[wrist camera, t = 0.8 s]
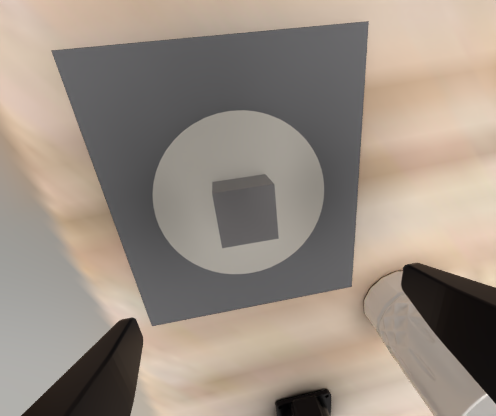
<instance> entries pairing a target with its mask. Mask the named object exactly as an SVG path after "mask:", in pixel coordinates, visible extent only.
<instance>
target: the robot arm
mask: <svg viewBox="0 0 496 416" xmlns="http://www.w3.org/2000/svg"><path fill="white" fill-rule="evenodd" d="M401 287H402V290H403V292H404V293H405V294H406V296H407V297H408V299H409V300H410V301H411V303H412V304H413V305H414V307H415V308H416V309H417V311H418V312H419V313H420V315H421V316H422V318H423V319H424V320H425V322H426V323H427V324H428V326H429V327H430V328H431V330H432V331H433V332H434V333H435V335H436V336H437V337H438V338H439V339H440V341H441V342H442V343H443V344H444V345H445V346H446V348H447V349H448V350H449V351H450V352H451V353H452V354H453V356H454V357H455V358H456V359H457V360H458V361H459V362H460V364H461V365H462V366H463V367H464V368H465V369H466V371H467V372H468V373H469V374H470V375H471V376H472V377H473V379H474V380H475V381H476V382H477V383H478V384H479V385H480V387H481V388H482V389H483V390H484V391H485V392H486V394H487V395H488V396H489V397H490V398H491V399H492V400H493V402H494V403H495V404H496V288H495V287H491V286H488V285H485V284H482V283H479V282H476V281H473V280H470V279H467V278H464V277H460V276H457V275H454V274H451V273H448V272H445V271H442V270H439V269H436V268H432V267H429V266H426V265H423V264H420V263H412V264H407V265H405V266H404V268H403V273H402V280H401ZM142 347H143V336H142V333H141V331H140V328H139V326H138V323H137V321H136V319H135V318H127V319H122V320H120V321H119V322H117V323H116V324H115V325H114V326H113V327H112V328H111V329H110V330H109V331H108V332H107V333H106V334H105V335H104V336H103V337H102V338H101V339H100V340H99V341H98V342H97V343H96V344H95V345H94V346H93V347H92V348H91V349H90V350H88V352H86V353H85V354H84V356H82V357H81V358H80V359H79V360H78V361H77V362H76V363H75V364H74V365H73V366H72V367H71V368H70V369H69V370H68V371H67V372H66V373H65V374H64V375H63V376H62V377H61V378H60V379H59V380H58V381H56V382H55V383H54V385H52V386H51V387H50V388H49V389H48V390H47V391H46V392H45V393H44V394H43V395H42V396H41V397H40V398H39V399H38V400H37V401H36V402H35V403H34V404H33V405H32V406H31V407H30V408H29V409H28V410H27V411H26V412H25V413H24V414H22V415H21V416H130V414H131V410H132V406H133V402H134V397H135V391H136V385H137V379H138V372H139V366H140V360H141V354H142ZM275 406H276V415H277V416H330V413H331V394H330V392H329V390H323V391H319V392H314V393H310V394H306V395H302V396H297V397H293V398H289V399H285V400H281V401H278V402H276V404H275Z"/></svg>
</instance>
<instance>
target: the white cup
mask: <svg viewBox="0 0 496 416" xmlns="http://www.w3.org/2000/svg"><path fill="white" fill-rule="evenodd" d="M402 273H403V271H396V272H394V273H392V274H389V275H387V276H385V277H383V278H381V279H380V280H379V281H378V282H377V283H376V284H375V285H374V286H372V287H371V288H370V290H369V292H368V294H367V296H366V298H365V300H364V313H365V315H366V316H367V318H368V319H369V320H370V322H371V323H372V324H373V326H374V327H375V329H376V330H377V332H378V334H379V335H380V336H381V339H382V341H383V343H384V344H385V345H386V347H387V348H388V350H389V352H390V353H391V355H392V356H393V358H394V359H395V360H396V362H397V363H398V364H399V366H400V368H401V369H402V371H403V373H404V374H405V376H406V377H407V378H408V380H409V381H410V382H411V384H412V385H413V387H414V388H415V389H416V391H417V392H418V394H419V395H420V397H421V398H422V399H423V401H424V402H425V404H426V405H427V407H428V408H429V409H430V411H431V412H432V414H433V415H434V416H496V404H495V403H494V402H493V400H492V399H491V398H490V397H489V396H488V395H487V394H486V392H485V391H484V390H483V389H482V388H481V387H480V385H479V384H478V383H477V382H476V381H475V380H474V379H473V377H472V376H471V375H470V374H469V373H468V372H467V371H466V369H465V368H464V367H463V366H462V365H461V364H460V362H459V361H458V360H457V359H456V358H455V357H454V356H453V354H452V353H451V352H450V351H449V350H448V349H447V348H446V346H445V345H444V344H443V343H442V342H441V341H440V339H439V338H438V337H437V336H436V335H435V333H434V332H433V331H432V330H431V328H430V327H429V326H428V324H427V323H426V322H425V320H424V319H423V318H422V316H421V315H420V313H419V312H418V311H417V309H416V308H415V307H414V305H413V304H412V303H411V301H410V300H409V299H408V297H407V296H406V294H405V293H404V292H403V290H402V287H401V280H402Z"/></svg>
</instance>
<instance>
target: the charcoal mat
mask: <svg viewBox="0 0 496 416" xmlns="http://www.w3.org/2000/svg"><path fill="white" fill-rule="evenodd" d="M368 22H369V21H367V22H356V23H345V24H334V25H323V26H313V27H302V28H291V29H280V30H269V31H258V32H248V33H237V34H226V35H215V36H204V37H193V38H182V39H172V40H161V41H150V42H139V43H128V44H117V45H106V46H96V47H85V48H74V49H63V50H52V54H53V56H54V59H55V62H56V65H57V67H58V70H59V73H60V76H61V78H62V81H63V84H64V87H65V89H66V92H67V95H68V97H69V100H70V103H71V106H72V108H73V111H74V114H75V117H76V119H77V122H78V125H79V128H80V130H81V133H82V136H83V138H84V141H85V144H86V147H87V149H88V152H89V155H90V158H91V160H92V163H93V166H94V169H95V171H96V174H97V177H98V180H99V182H100V185H101V188H102V190H103V193H104V196H105V199H106V201H107V204H108V207H109V210H110V212H111V215H112V218H113V221H114V223H115V226H116V229H117V231H118V234H119V237H120V240H121V242H122V245H123V248H124V251H125V253H126V256H127V259H128V262H129V264H130V267H131V270H132V273H133V275H134V278H135V281H136V283H137V286H138V289H139V292H140V294H141V297H142V300H143V303H144V305H145V308H146V311H147V314H148V316H149V319H150V322H151V324H152V326H156V325H161V324H166V323H171V322H176V321H181V320H186V319H191V318H196V317H201V316H206V315H211V314H216V313H221V312H226V311H231V310H236V309H241V308H246V307H252V306H257V305H262V304H267V303H272V302H277V301H282V300H287V299H292V298H297V297H302V296H307V295H312V294H317V293H322V292H327V291H332V290H337V289H342V288H347V287H352V272H353V257H354V241H355V225H356V210H357V194H358V178H359V163H360V147H361V132H362V116H363V100H364V85H365V69H366V53H367V38H368ZM236 110H247V111H256V112H260V113H265V114H268V115H271V116H273V117H276V118H278V119H280V120H282V121H284V122H286V123H287V124H289V125H290V126H292V127H293V128H294V129H296V130H297V131H298V132H299V133H300V134H301V135H302V136H303V137H304V138H305V139H306V140H307V142H308V143H309V144H310V146H311V147H312V149H313V150H314V152H315V154H316V156H317V158H318V161H319V163H320V166H321V169H322V174H323V179H324V200H323V205H322V210H321V213H320V216H319V219H318V221H317V224H316V226H315V228H314V230H313V231H312V233H311V234H310V236H309V237H308V239H307V240H306V241H305V242H304V244H303V245H302V246H301V247H300V248H299V249H298V250H297V251H296V252H295V253H293V254H292V255H291V256H289V257H288V258H287V259H285V260H284V261H282V262H280V263H278V264H276V265H274V266H272V267H270V268H267V269H264V270H262V271H258V272H253V273H247V274H224V273H218V272H214V271H210V270H207V269H204V268H202V267H200V266H198V265H195V264H193V263H192V262H190V261H189V260H187V259H186V258H184V257H183V256H182V255H181V254H179V253H178V252H177V251H176V250H175V249H174V248H173V247H172V246H171V245H170V243H169V242H168V240H167V239H166V238H165V236H164V234H163V233H162V231H161V229H160V227H159V224H158V222H157V219H156V216H155V211H154V207H153V183H154V178H155V174H156V170H157V168H158V165H159V163H160V160H161V158H162V157H163V155H164V153H165V151H166V150H167V148H168V147H169V146H170V144H171V143H172V142H173V141H174V139H176V138H177V137H178V136H179V135H180V134H181V133H182V132H183V131H184V130H185V129H187V128H188V127H190V126H191V125H192V124H194V123H196V122H198V121H200V120H202V119H203V118H205V117H208V116H211V115H214V114H217V113H222V112H227V111H236Z"/></svg>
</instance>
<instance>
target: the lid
mask: <svg viewBox="0 0 496 416" xmlns="http://www.w3.org/2000/svg"><path fill="white" fill-rule="evenodd" d="M323 200H324V179H323V174H322V169H321V166H320V163H319V161H318V158H317V156H316V154H315V152H314V150H313V149H312V147H311V146H310V144H309V143H308V142H307V140H306V139H305V138H304V137H303V136H302V135H301V134H300V133H299V132H298V131H297V130H296V129H294V128H293V127H292V126H290V125H289V124H287V123H286V122H284V121H282V120H280V119H278V118H276V117H273V116H271V115H268V114H265V113H260V112H256V111H247V110H236V111H227V112H222V113H217V114H214V115H211V116H208V117H205V118H203V119H202V120H200V121H198V122H196V123H194V124H192V125H191V126H190V127H188V128H187V129H185V130H184V131H183V132H182V133H181V134H180V135H179V136H178V137H177V138H176V139H174V141H173V142H172V143H171V144H170V146H169V147H168V148H167V150H166V151H165V153H164V155H163V157H162V158H161V160H160V163H159V165H158V168H157V170H156V174H155V178H154V183H153V207H154V211H155V216H156V219H157V222H158V224H159V227H160V229H161V231H162V233H163V234H164V236H165V238H166V239H167V240H168V242H169V243H170V245H171V246H172V247H173V248H174V249H175V250H176V251H177V252H178V253H179V254H181V255H182V256H183V257H184V258H186V259H187V260H189V261H190V262H192V263H193V264H195V265H198V266H200V267H202V268H204V269H207V270H210V271H214V272H218V273H224V274H247V273H253V272H258V271H262V270H264V269H267V268H270V267H272V266H274V265H276V264H278V263H280V262H282V261H284V260H285V259H287V258H288V257H289V256H291V255H292V254H293V253H295V252H296V251H297V250H298V249H299V248H300V247H301V246H302V245H303V244H304V242H305V241H306V240H307V239H308V237H309V236H310V234H311V233H312V231H313V230H314V228H315V226H316V224H317V221H318V219H319V216H320V213H321V210H322V205H323Z"/></svg>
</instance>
